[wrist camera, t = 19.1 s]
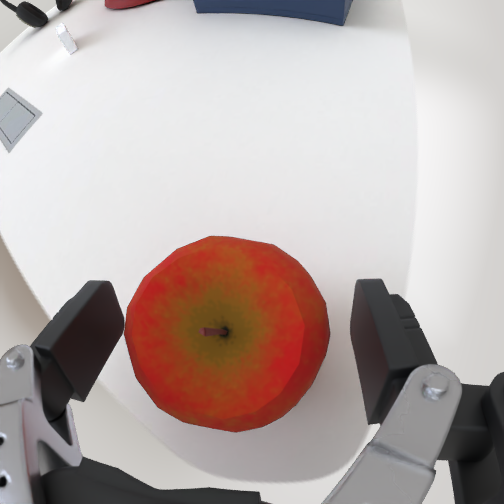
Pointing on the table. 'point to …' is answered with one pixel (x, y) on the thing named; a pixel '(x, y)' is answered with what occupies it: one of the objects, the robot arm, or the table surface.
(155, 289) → the apple
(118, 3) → the table lamp
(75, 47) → the eraser
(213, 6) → the box
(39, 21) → the headphones
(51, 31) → the table surface
